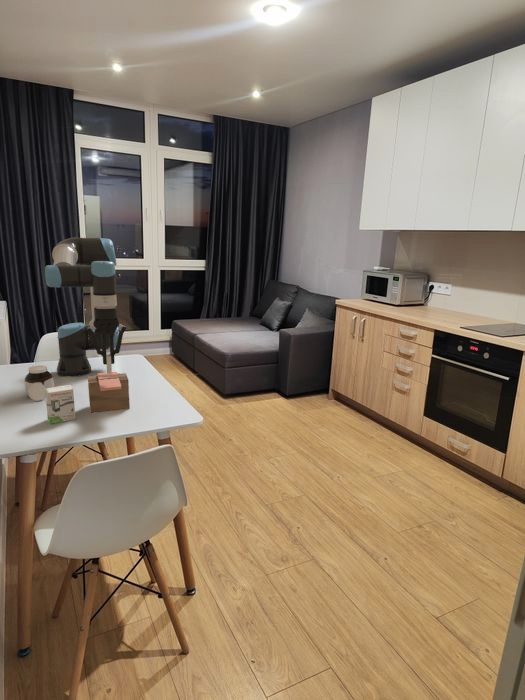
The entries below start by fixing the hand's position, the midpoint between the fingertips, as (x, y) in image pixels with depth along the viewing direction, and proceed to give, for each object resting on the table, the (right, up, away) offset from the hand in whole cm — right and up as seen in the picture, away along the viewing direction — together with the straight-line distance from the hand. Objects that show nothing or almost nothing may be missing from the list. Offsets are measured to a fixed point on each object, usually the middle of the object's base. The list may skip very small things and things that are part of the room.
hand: (109, 372), depth 156 cm
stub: (-1, -5, +2) cm, 5 cm away
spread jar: (-36, -11, +22) cm, 44 cm away
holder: (-5, -14, +13) cm, 20 cm away
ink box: (-18, -17, +1) cm, 25 cm away
